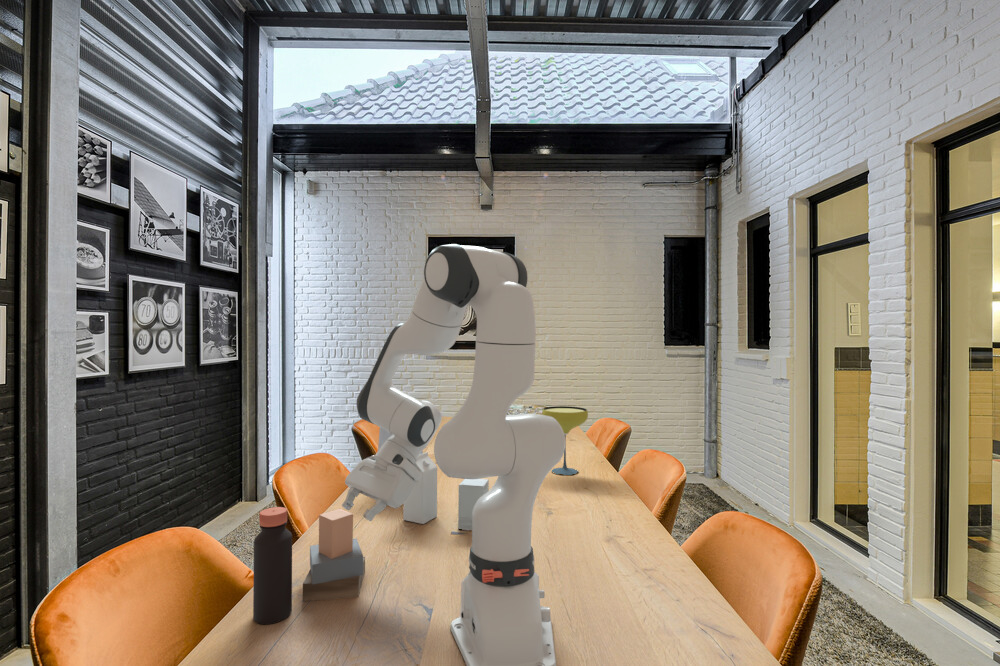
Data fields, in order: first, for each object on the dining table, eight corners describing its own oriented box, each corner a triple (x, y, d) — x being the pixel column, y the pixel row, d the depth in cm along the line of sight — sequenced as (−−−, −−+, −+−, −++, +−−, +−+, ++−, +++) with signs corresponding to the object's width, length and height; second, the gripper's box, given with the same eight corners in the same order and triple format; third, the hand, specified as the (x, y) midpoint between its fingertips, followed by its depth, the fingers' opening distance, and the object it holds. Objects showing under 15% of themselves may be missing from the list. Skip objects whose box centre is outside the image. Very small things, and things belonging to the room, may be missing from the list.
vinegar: (281, 601, 100) (282, 502, 100) (298, 613, 95) (299, 510, 96) (246, 616, 95) (247, 511, 95) (263, 629, 90) (264, 520, 90)
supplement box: (483, 532, 136) (483, 486, 136) (457, 530, 137) (457, 484, 138) (489, 522, 143) (489, 478, 143) (464, 520, 145) (464, 477, 145)
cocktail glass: (594, 470, 200) (594, 408, 200) (576, 480, 185) (576, 414, 185) (554, 463, 210) (554, 405, 210) (534, 473, 194) (534, 410, 195)
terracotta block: (352, 550, 107) (353, 513, 107) (332, 558, 103) (332, 520, 103) (339, 544, 110) (339, 508, 110) (318, 552, 106) (319, 514, 106)
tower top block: (363, 575, 104) (363, 556, 104) (312, 584, 100) (312, 564, 100) (356, 555, 113) (356, 538, 113) (309, 563, 109) (310, 545, 109)
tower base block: (358, 599, 102) (358, 580, 102) (302, 603, 100) (302, 583, 100) (365, 574, 113) (365, 556, 113) (314, 577, 111) (314, 559, 111)
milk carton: (403, 520, 144) (403, 455, 145) (418, 512, 151) (418, 450, 151) (422, 524, 141) (423, 458, 141) (437, 516, 147) (437, 453, 148)
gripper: (362, 446, 123) (324, 495, 115) (410, 461, 108) (370, 517, 101) (377, 461, 126) (341, 509, 119) (426, 477, 111) (389, 533, 104)
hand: (355, 513), depth 110 cm, fingers open, 8 cm apart
